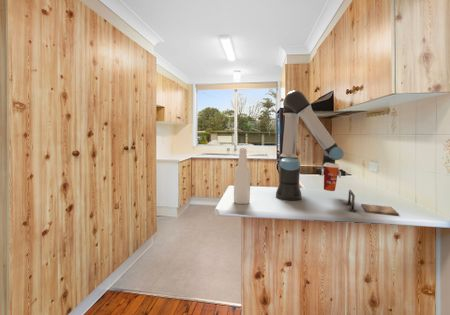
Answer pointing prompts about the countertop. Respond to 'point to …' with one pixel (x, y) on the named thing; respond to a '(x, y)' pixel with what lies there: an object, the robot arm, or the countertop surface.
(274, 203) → the countertop surface
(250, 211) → the countertop surface
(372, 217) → the countertop surface
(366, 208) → the walnut board
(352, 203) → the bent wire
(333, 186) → the paper cup
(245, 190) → the alcohol
